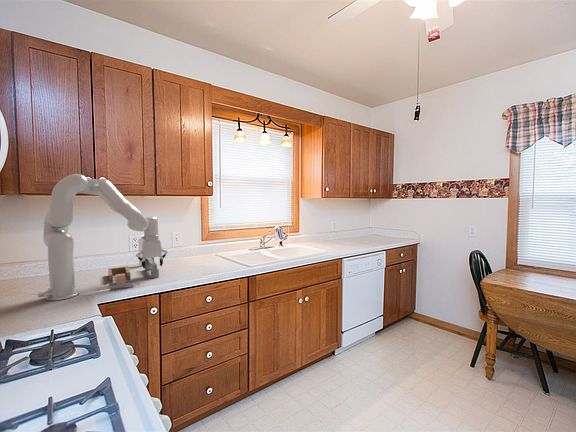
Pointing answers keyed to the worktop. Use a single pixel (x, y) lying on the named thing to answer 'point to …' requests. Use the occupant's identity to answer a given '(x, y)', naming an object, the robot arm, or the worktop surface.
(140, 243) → the milk
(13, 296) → the worktop surface
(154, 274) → the grey long bar
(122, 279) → the cube
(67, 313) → the worktop surface
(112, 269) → the cubby
